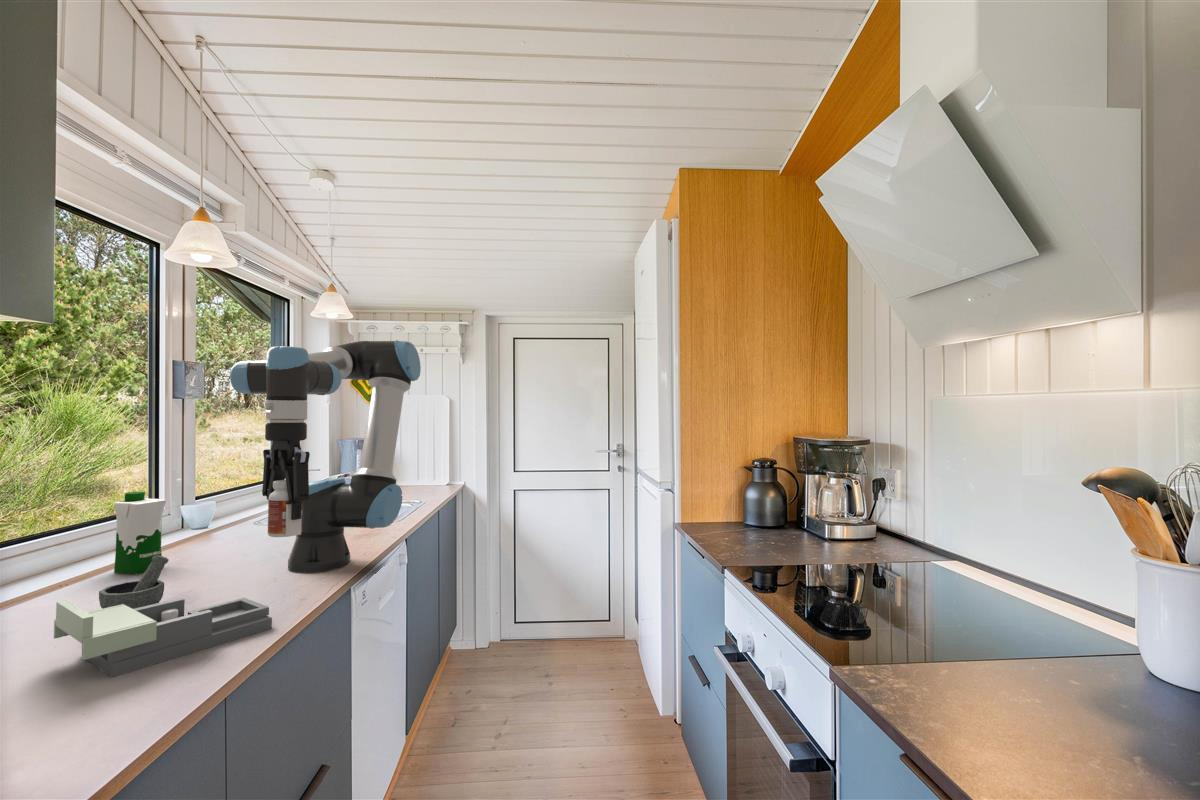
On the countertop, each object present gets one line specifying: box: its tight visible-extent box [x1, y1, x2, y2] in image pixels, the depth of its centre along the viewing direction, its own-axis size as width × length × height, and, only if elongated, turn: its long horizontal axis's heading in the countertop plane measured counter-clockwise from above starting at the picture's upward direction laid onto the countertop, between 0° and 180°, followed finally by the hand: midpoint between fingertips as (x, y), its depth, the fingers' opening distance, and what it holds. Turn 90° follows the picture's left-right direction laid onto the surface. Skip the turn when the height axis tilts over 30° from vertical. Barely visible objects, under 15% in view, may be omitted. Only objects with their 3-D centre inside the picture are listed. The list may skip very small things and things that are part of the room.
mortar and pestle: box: [98, 555, 170, 609], centre depth 110 cm, size 11×9×12 cm
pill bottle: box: [267, 479, 302, 538], centre depth 115 cm, size 6×6×11 cm
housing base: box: [81, 597, 273, 678], centre depth 101 cm, size 24×14×6 cm, turn 147°
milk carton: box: [113, 491, 167, 575], centre depth 145 cm, size 9×9×20 cm
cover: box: [53, 599, 157, 661], centre depth 91 cm, size 9×15×6 cm, turn 57°
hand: (284, 533), depth 115 cm, fingers closed on pill bottle, 6 cm apart
